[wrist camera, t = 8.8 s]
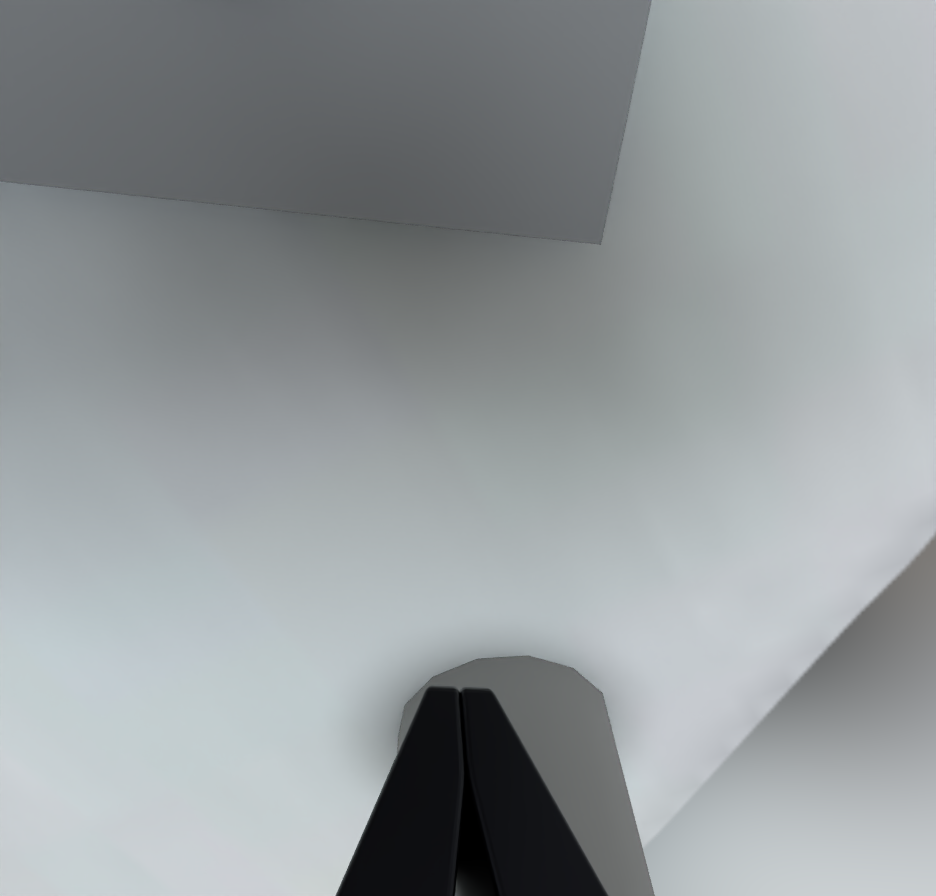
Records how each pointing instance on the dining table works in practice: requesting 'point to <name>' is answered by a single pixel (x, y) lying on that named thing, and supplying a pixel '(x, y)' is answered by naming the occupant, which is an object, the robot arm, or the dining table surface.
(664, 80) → the dining table surface
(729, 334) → the dining table surface
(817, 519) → the dining table surface
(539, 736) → the cup
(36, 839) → the dining table surface
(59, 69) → the base
